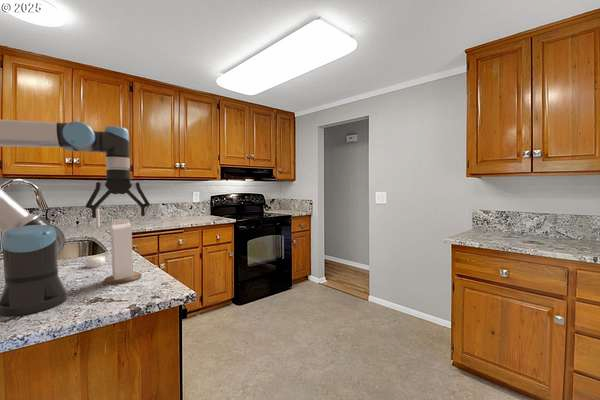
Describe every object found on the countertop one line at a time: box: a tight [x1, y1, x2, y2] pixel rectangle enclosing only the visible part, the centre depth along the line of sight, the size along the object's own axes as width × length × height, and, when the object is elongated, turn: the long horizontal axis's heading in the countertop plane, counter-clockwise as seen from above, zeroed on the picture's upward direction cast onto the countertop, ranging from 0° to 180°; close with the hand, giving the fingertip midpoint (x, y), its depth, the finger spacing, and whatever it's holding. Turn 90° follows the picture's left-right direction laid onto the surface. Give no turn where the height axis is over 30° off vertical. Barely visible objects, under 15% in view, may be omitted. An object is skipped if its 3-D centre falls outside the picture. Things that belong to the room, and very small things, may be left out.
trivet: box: [104, 271, 142, 285], centre depth 110 cm, size 12×12×1 cm
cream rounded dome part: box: [85, 255, 106, 269], centre depth 128 cm, size 7×7×4 cm
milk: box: [109, 218, 134, 280], centre depth 110 cm, size 6×6×22 cm
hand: (119, 225), depth 109 cm, fingers open, 13 cm apart
